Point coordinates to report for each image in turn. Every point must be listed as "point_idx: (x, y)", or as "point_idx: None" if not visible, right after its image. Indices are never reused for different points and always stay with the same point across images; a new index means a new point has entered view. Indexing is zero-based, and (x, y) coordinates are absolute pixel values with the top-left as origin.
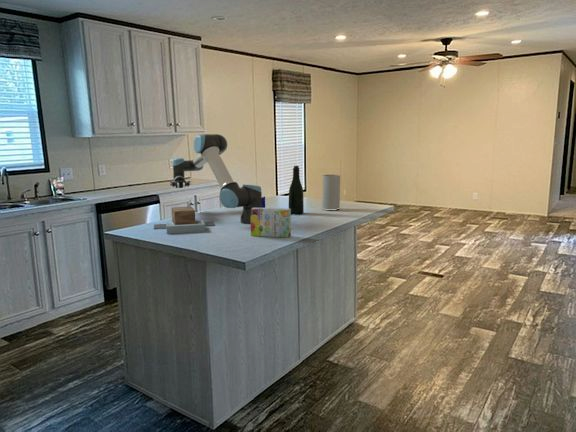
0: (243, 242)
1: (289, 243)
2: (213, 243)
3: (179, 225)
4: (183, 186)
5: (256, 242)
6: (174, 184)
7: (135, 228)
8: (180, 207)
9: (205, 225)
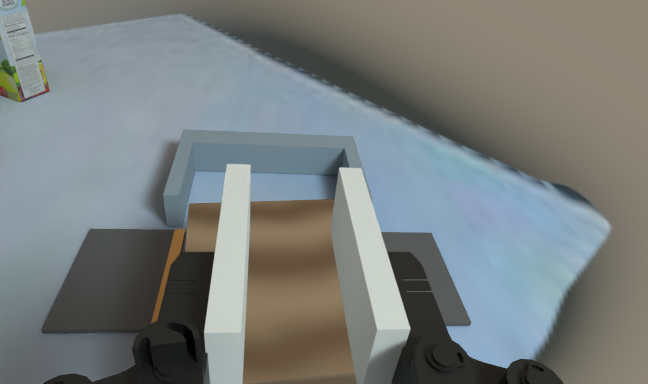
0: (119, 62)
1: None
2: (203, 72)
3: (298, 139)
4: (245, 314)
5: (84, 56)
6: (481, 377)
7: (539, 269)
8: (298, 351)
9: (148, 232)
